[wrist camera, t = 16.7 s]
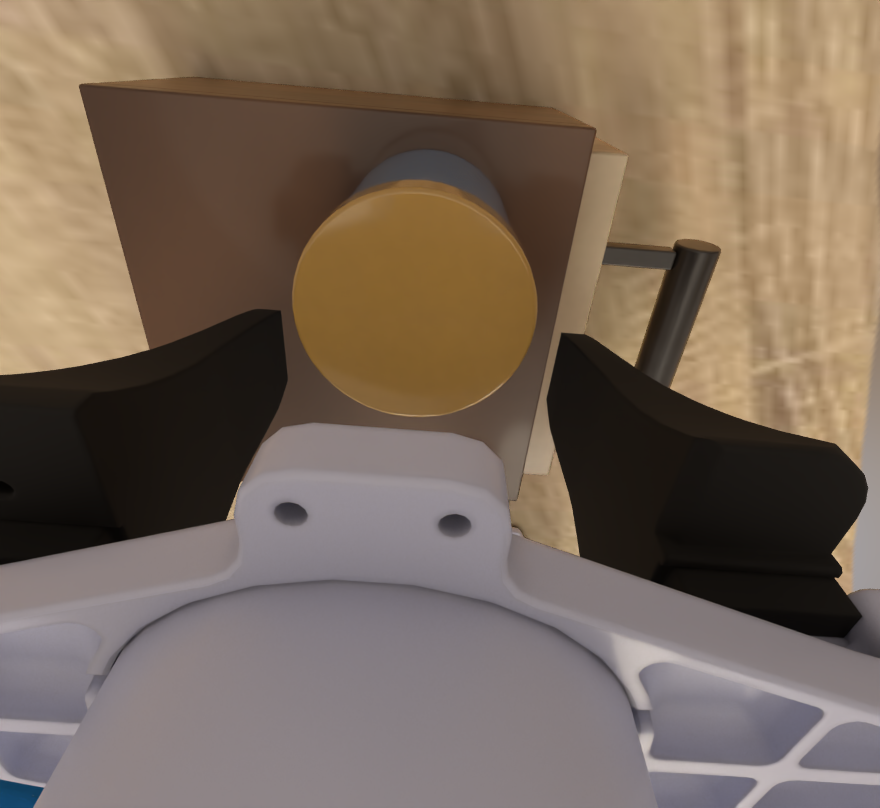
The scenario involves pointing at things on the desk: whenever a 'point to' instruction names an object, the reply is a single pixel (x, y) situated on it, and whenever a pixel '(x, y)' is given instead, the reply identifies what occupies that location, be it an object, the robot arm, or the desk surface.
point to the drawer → (590, 250)
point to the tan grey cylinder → (416, 289)
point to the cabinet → (319, 214)
